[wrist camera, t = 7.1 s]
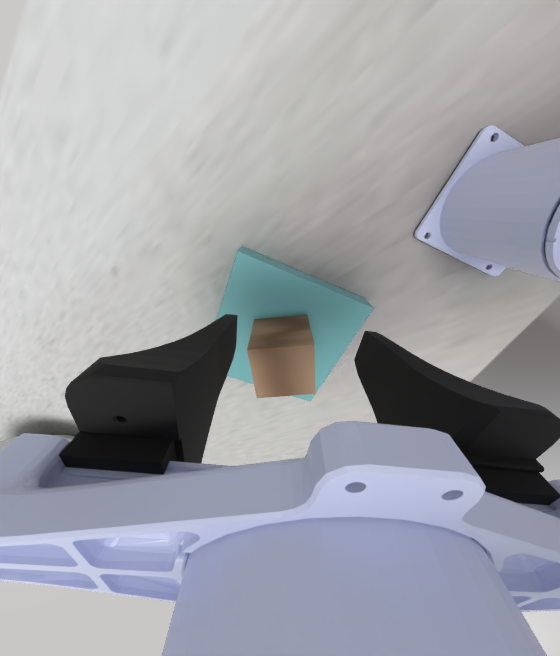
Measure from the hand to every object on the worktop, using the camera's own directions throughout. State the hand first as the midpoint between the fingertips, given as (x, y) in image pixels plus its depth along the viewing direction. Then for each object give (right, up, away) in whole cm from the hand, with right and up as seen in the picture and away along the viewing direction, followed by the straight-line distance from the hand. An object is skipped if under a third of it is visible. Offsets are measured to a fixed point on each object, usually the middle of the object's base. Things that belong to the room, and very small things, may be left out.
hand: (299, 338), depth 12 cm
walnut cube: (-1, -1, +9) cm, 9 cm away
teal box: (-1, +1, +12) cm, 12 cm away
